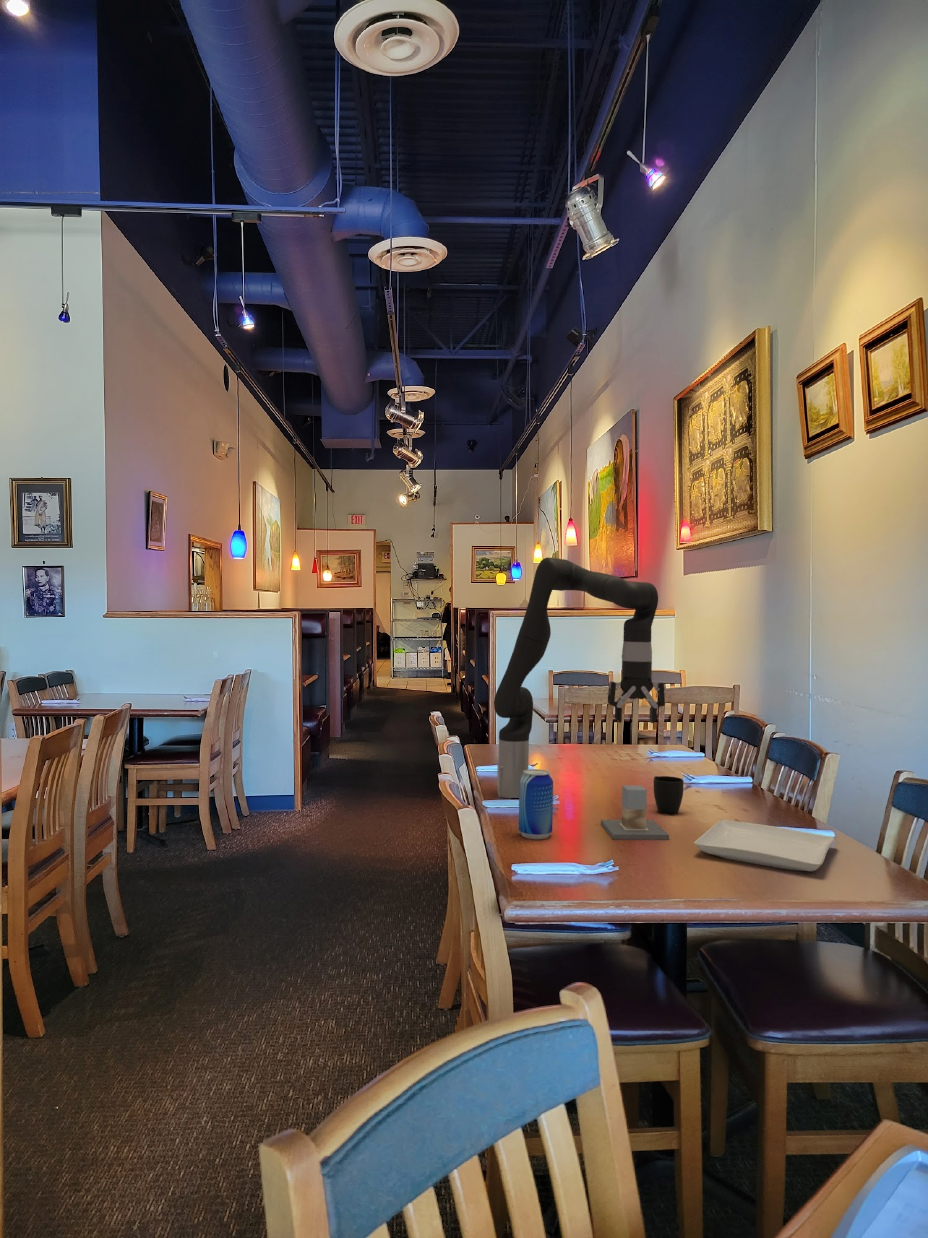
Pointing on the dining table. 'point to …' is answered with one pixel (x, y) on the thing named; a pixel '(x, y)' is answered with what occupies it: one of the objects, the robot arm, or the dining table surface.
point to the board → (634, 831)
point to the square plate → (765, 845)
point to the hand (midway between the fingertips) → (635, 722)
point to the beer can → (535, 804)
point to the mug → (668, 794)
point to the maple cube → (633, 818)
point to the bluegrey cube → (634, 797)
